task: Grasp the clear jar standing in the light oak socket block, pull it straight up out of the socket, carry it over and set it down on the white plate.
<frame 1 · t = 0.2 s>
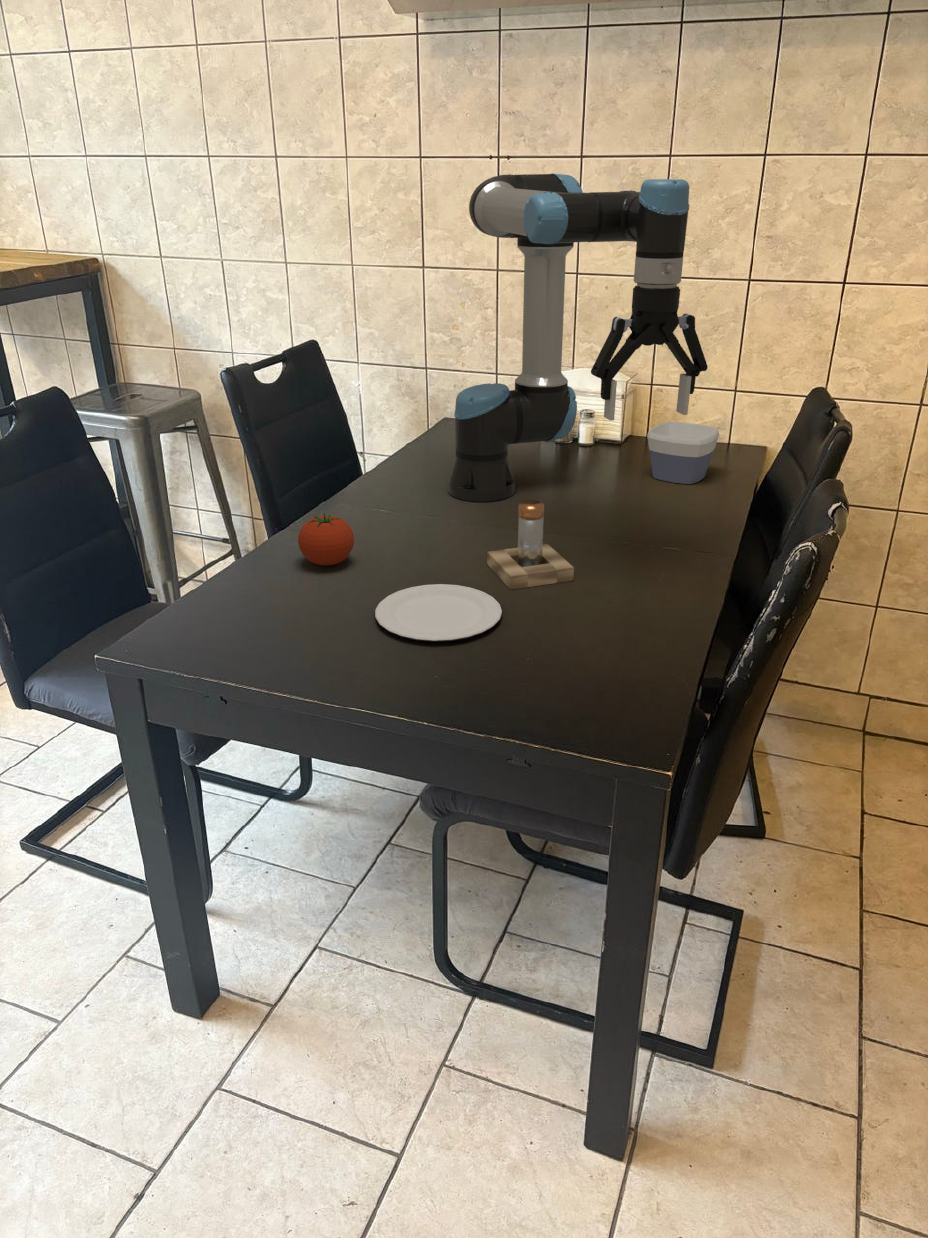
hand: (645, 415, 156), 28 cm above the table, fingers open, 13 cm apart
bowl: (678, 477, 216), on the table
socket block: (529, 572, 166), on the table
clear jar: (530, 538, 163), in the socket block
plate: (438, 619, 150), on the table
tomato: (328, 564, 170), on the table
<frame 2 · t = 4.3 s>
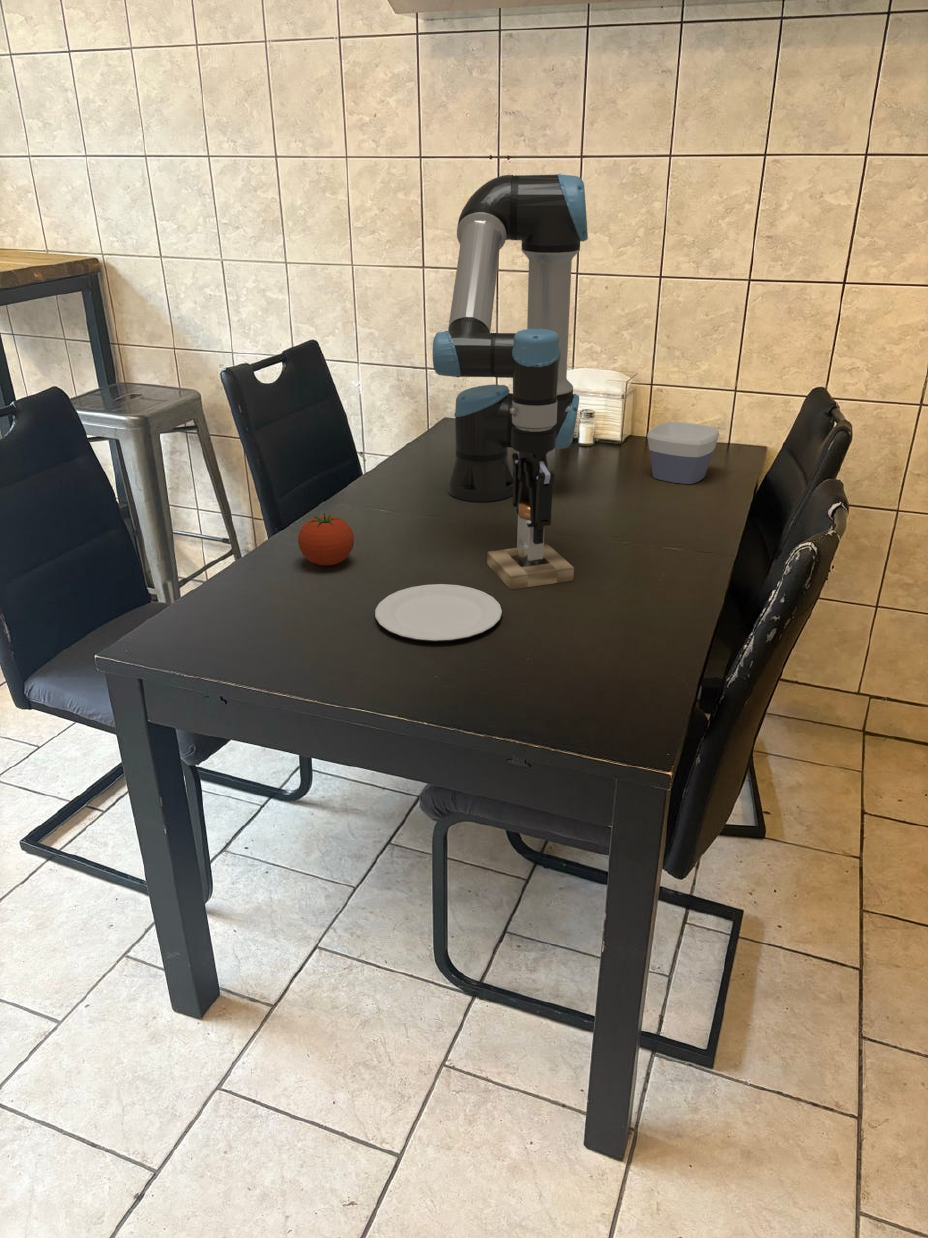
hand: (529, 553, 164), 4 cm above the table, fingers closed on clear jar, 4 cm apart
clear jar: (530, 538, 163), in the socket block, touching gripper
everything else where it was.
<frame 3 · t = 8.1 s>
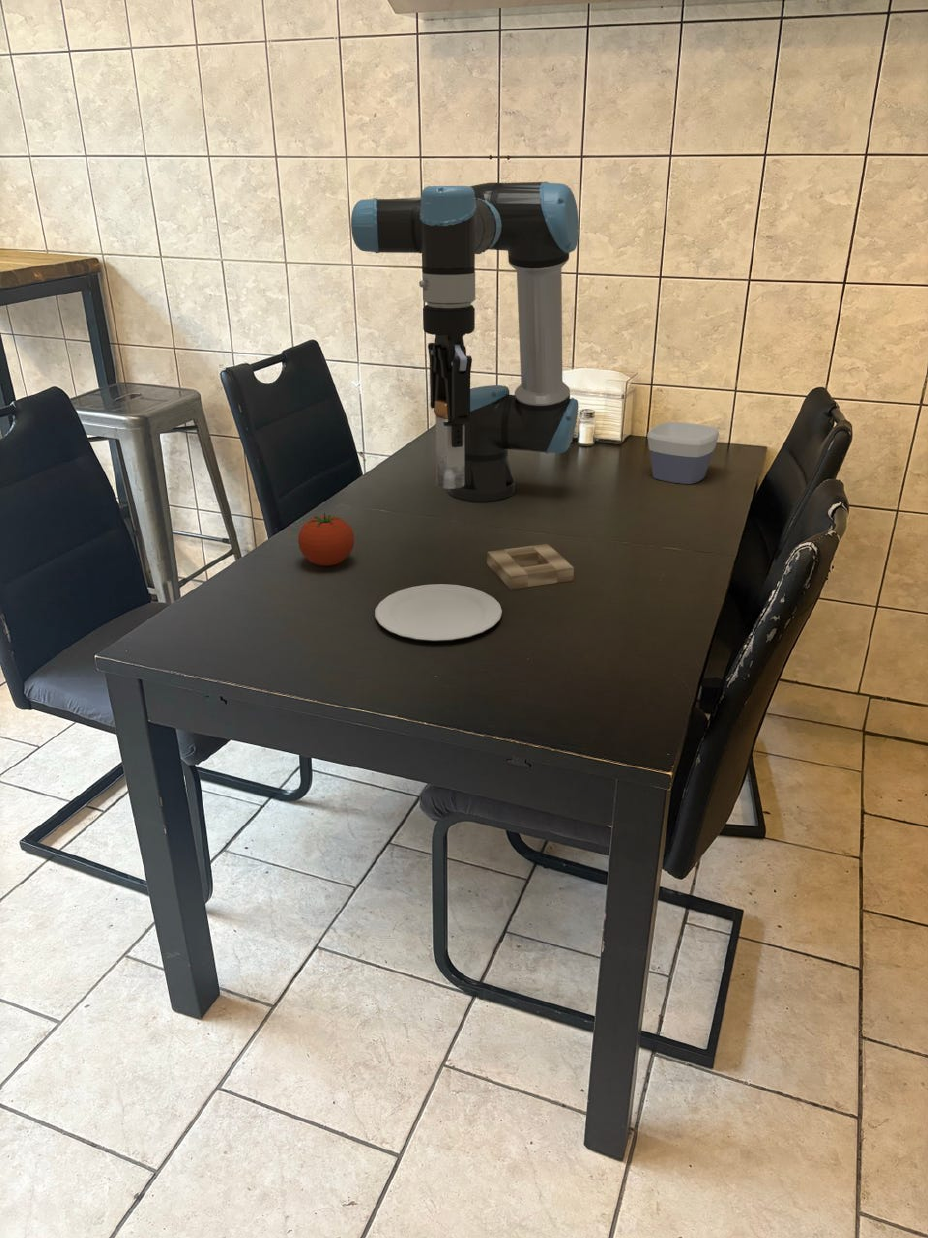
hand: (450, 461, 141), 25 cm above the table, fingers closed on clear jar, 4 cm apart
clear jar: (450, 443, 140), point 28 cm above the table, touching gripper
everything else where it was.
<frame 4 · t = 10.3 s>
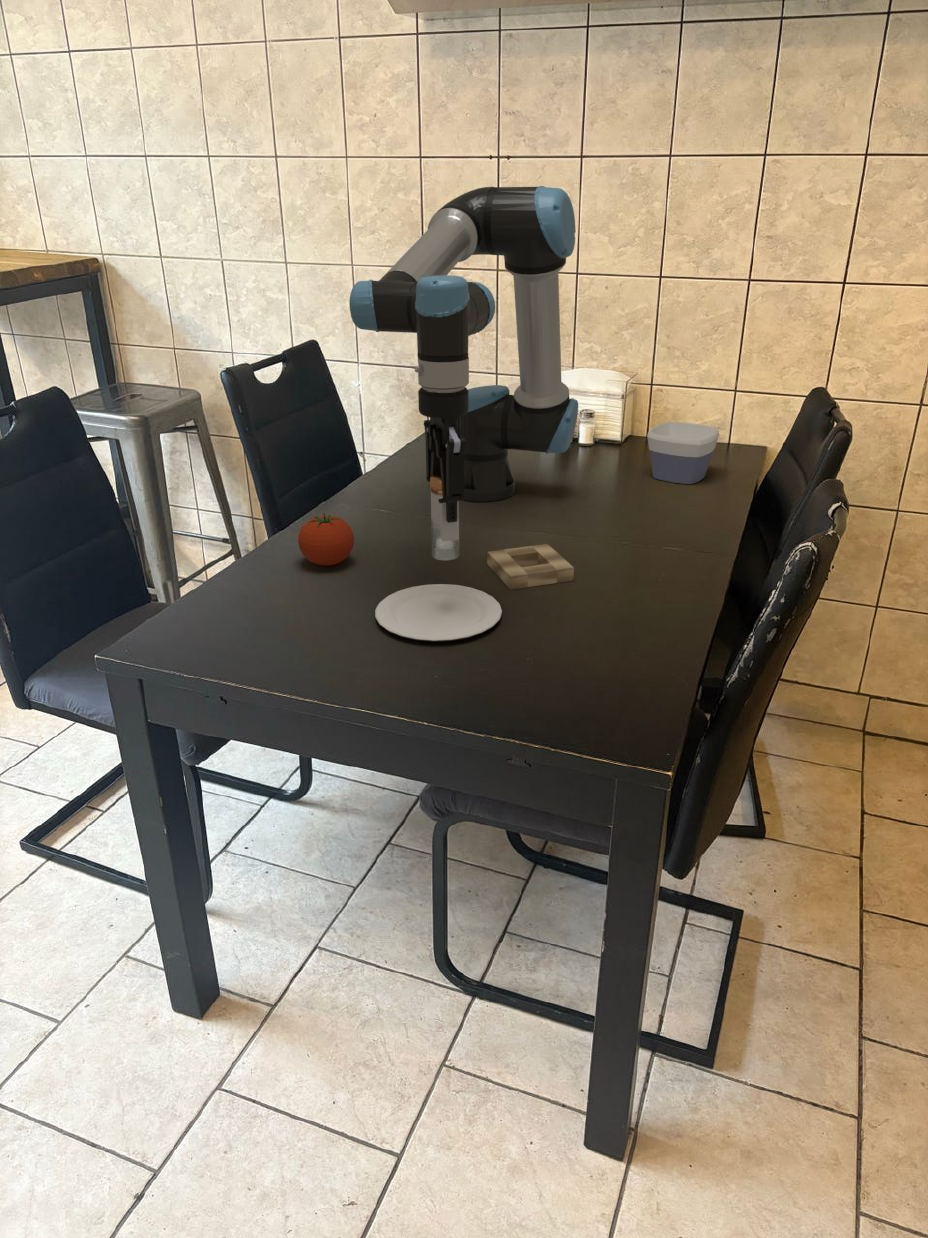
hand: (445, 533, 146), 14 cm above the table, fingers closed on clear jar, 4 cm apart
clear jar: (445, 517, 145), point 16 cm above the table, touching gripper
everything else where it was.
when the fingers open (7 cm above the table, at t = 12.2 s): clear jar drops 2 cm, resting on plate.
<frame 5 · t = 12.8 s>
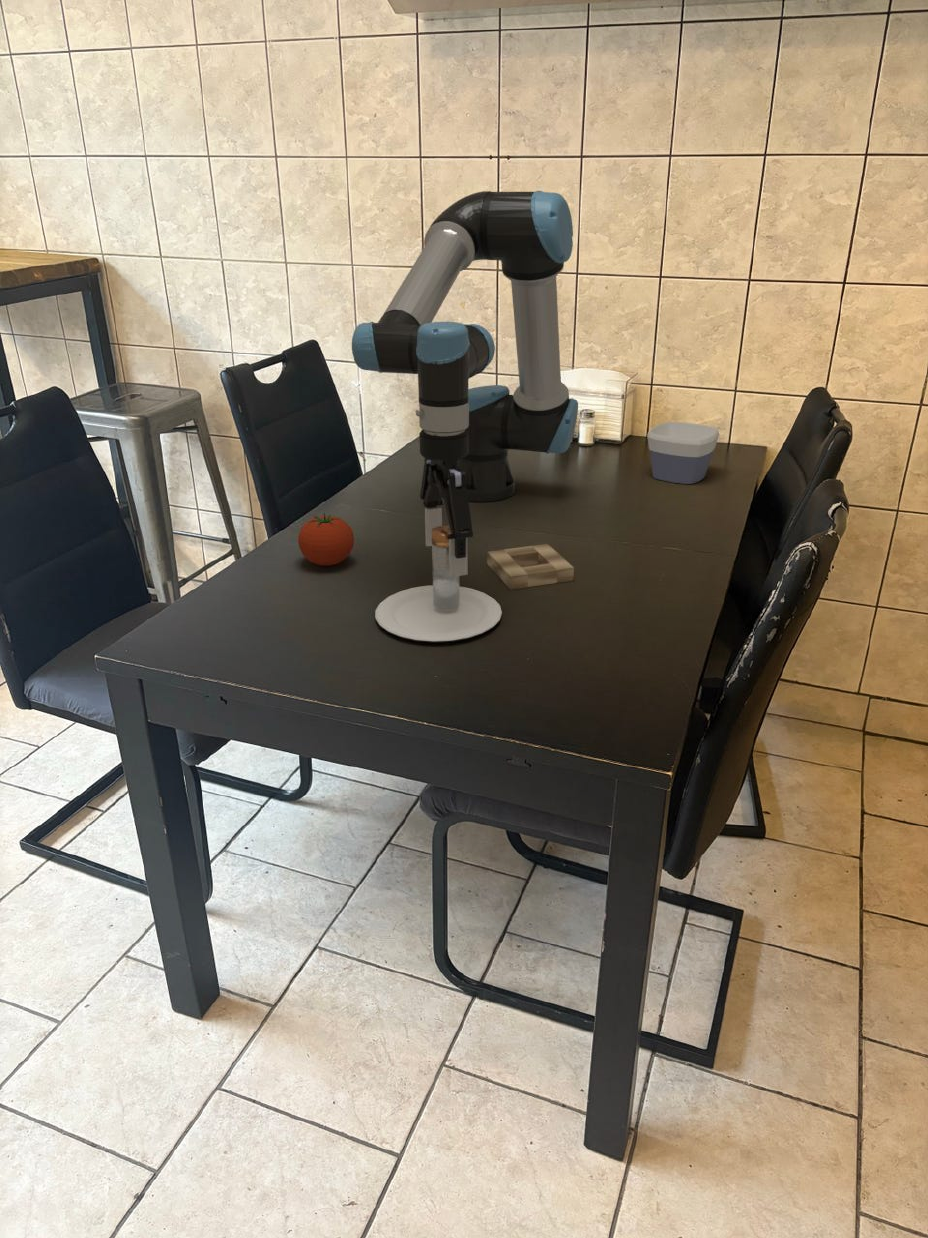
hand: (445, 559, 148), 9 cm above the table, fingers open, 13 cm apart
clear jar: (445, 567, 149), point 8 cm above the table, touching plate
plate: (438, 620, 150), on the table, touching clear jar
everything else where it was.
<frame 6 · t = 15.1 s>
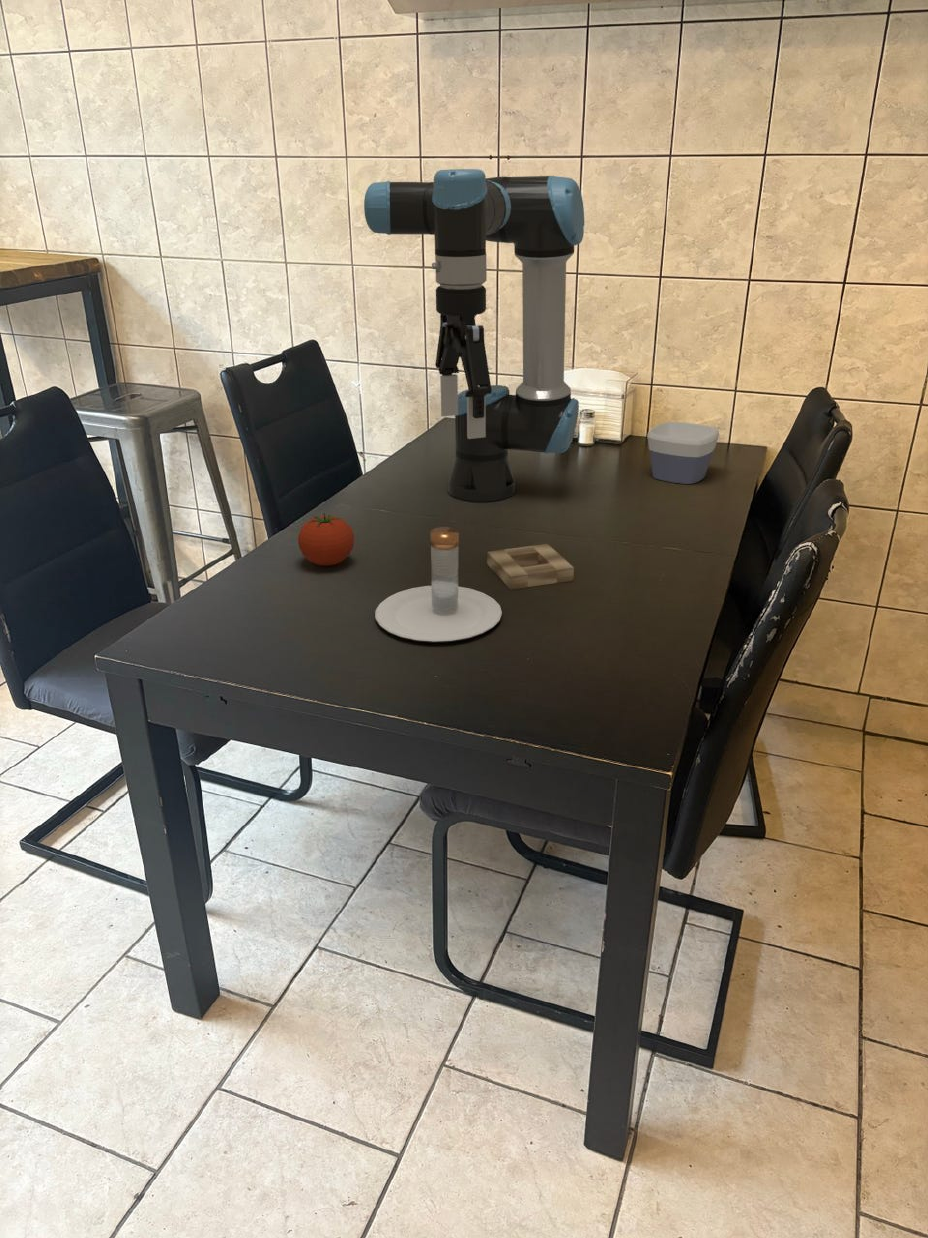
hand: (462, 426, 145), 29 cm above the table, fingers open, 13 cm apart
nothing on the table moved.
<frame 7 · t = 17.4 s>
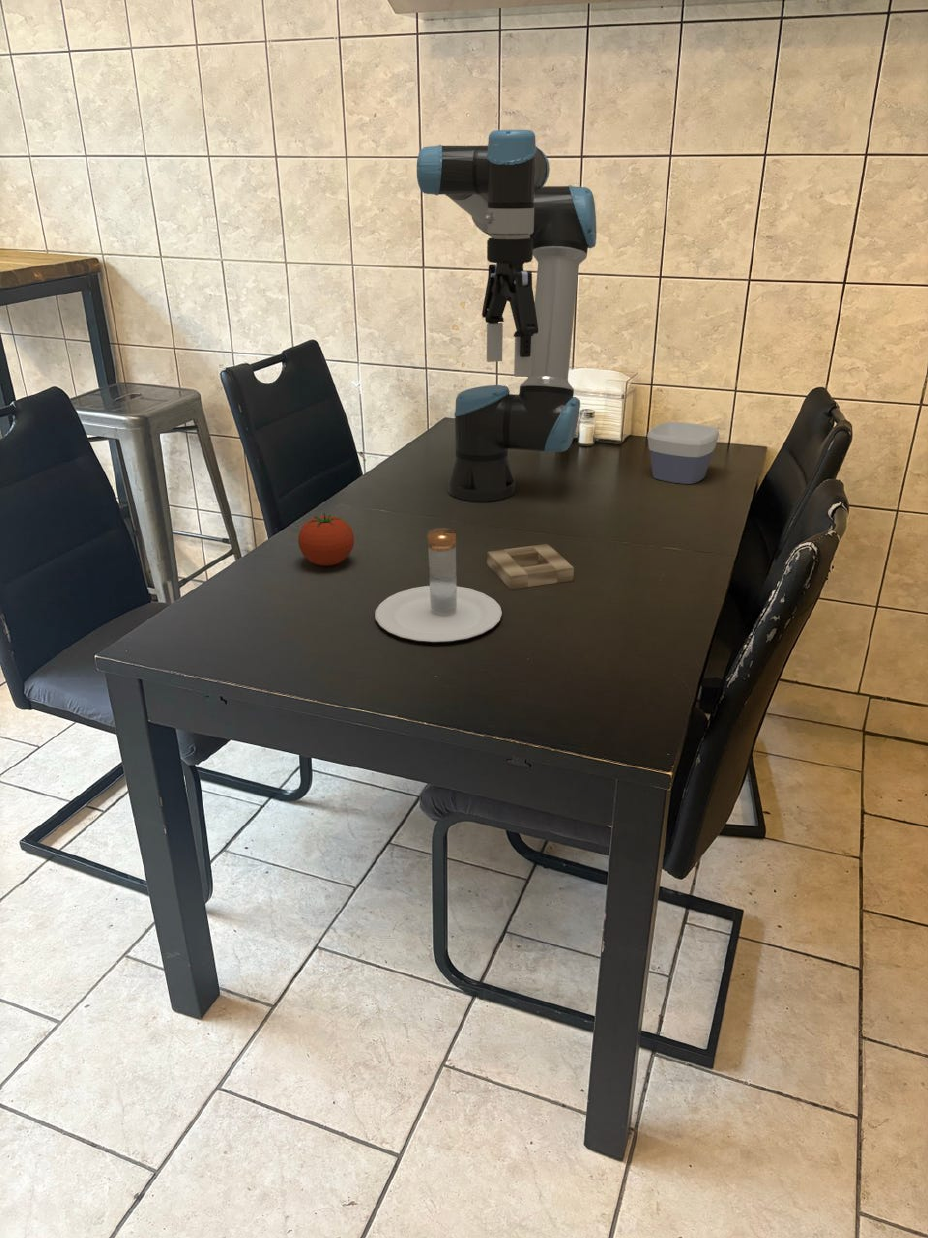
hand: (507, 368, 159), 35 cm above the table, fingers open, 13 cm apart
at the end: clear jar 1.8 cm from the plate (horizontally); clear jar point 7.7 cm above the table; the gripper is holding nothing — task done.
